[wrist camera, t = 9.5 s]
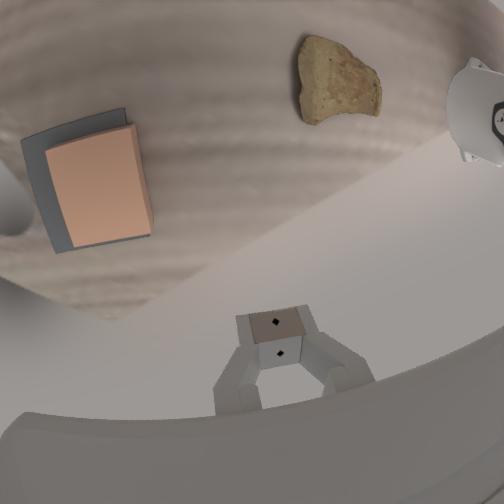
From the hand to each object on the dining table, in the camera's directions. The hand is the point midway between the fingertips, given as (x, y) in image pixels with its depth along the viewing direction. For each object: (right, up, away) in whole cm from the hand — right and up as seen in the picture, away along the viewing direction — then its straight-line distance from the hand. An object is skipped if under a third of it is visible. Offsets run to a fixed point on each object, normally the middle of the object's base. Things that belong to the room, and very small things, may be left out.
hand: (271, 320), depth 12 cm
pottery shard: (+4, +22, +16) cm, 27 cm away
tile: (-13, +11, +18) cm, 24 cm away
